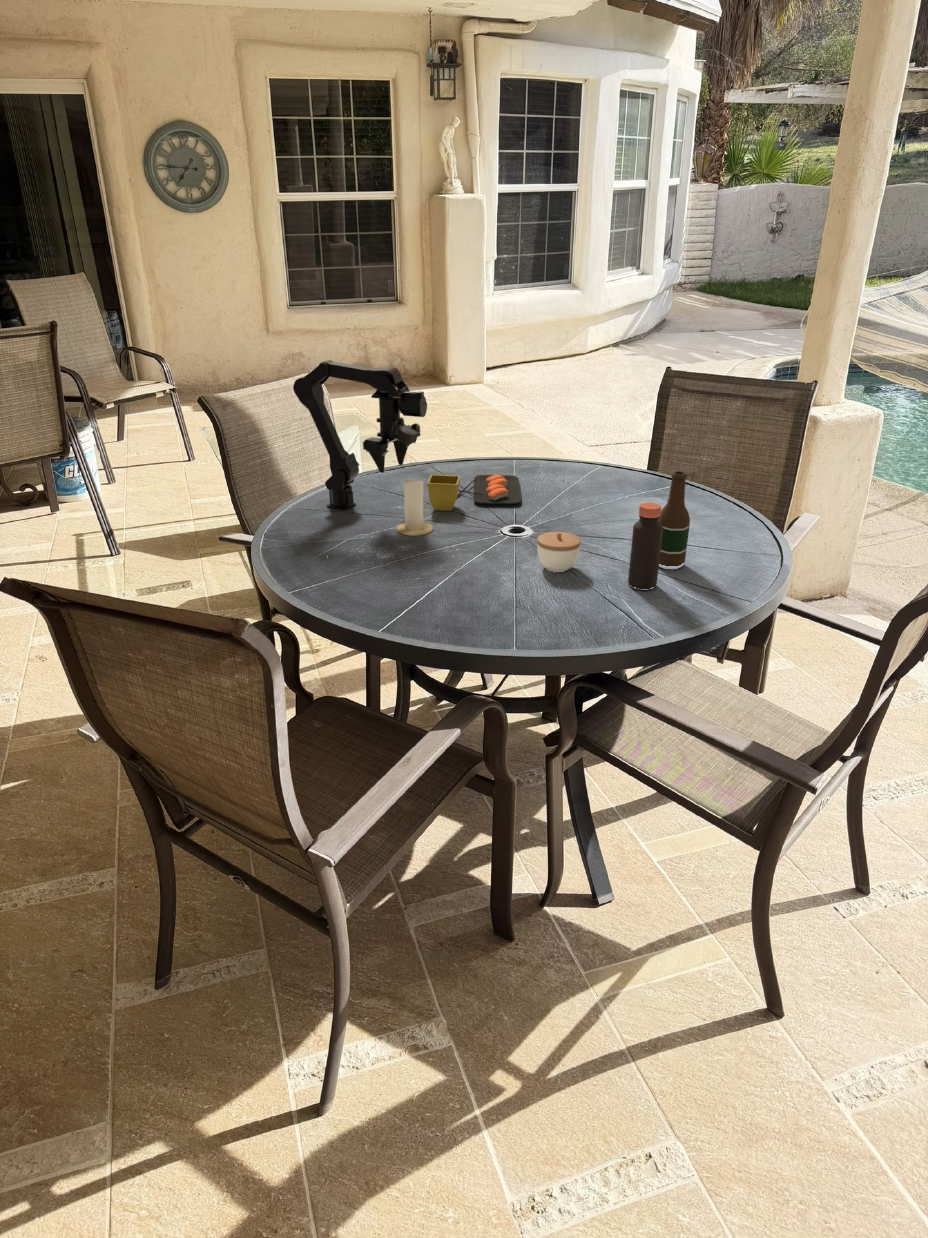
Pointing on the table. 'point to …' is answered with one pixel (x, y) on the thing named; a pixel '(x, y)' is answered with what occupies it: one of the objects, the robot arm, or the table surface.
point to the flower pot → (443, 491)
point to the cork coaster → (425, 530)
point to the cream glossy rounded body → (413, 504)
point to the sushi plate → (495, 489)
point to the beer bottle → (675, 523)
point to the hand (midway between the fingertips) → (391, 468)
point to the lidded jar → (558, 550)
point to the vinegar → (646, 547)
